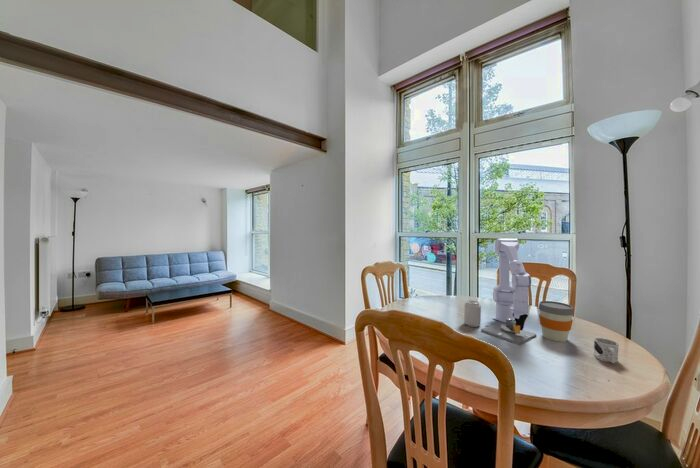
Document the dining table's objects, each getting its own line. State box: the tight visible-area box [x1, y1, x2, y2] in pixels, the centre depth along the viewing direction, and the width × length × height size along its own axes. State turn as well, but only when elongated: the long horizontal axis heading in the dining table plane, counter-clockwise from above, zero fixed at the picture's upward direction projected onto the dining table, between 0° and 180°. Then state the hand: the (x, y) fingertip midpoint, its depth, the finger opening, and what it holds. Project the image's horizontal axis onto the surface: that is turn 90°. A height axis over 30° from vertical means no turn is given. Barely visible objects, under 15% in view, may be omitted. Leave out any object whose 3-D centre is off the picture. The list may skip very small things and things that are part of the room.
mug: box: [593, 337, 619, 364], centre depth 99 cm, size 10×7×7 cm
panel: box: [480, 321, 537, 346], centre depth 123 cm, size 16×17×1 cm
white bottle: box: [463, 300, 482, 328], centre depth 134 cm, size 8×8×12 cm
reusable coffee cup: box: [538, 300, 574, 343], centre depth 119 cm, size 13×12×15 cm
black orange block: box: [501, 318, 520, 334], centre depth 123 cm, size 11×7×5 cm, turn 176°
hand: (519, 329), depth 120 cm, fingers closed, pressing on black orange block
